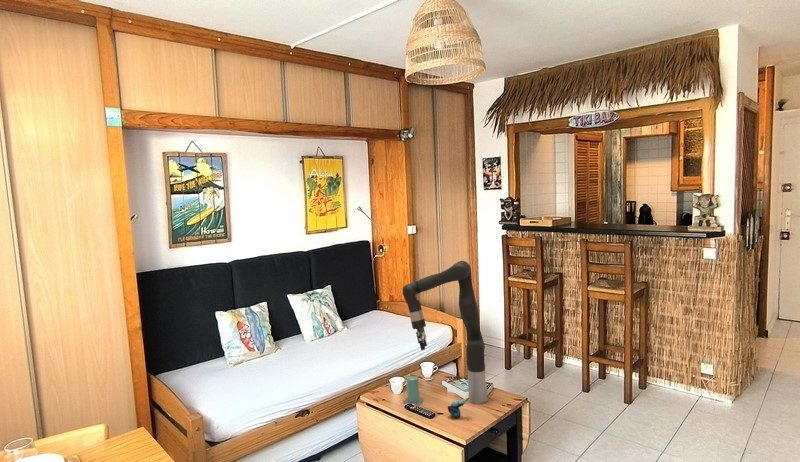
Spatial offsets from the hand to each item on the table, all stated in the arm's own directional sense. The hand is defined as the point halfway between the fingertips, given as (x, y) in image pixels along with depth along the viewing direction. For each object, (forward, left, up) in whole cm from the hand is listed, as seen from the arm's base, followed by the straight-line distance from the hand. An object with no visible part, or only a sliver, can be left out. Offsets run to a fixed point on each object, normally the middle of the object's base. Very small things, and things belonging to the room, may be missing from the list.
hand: (424, 348), depth 266 cm
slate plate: (+8, +8, -27) cm, 29 cm away
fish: (-12, +29, -27) cm, 41 cm away
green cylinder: (+8, +8, -26) cm, 28 cm away
